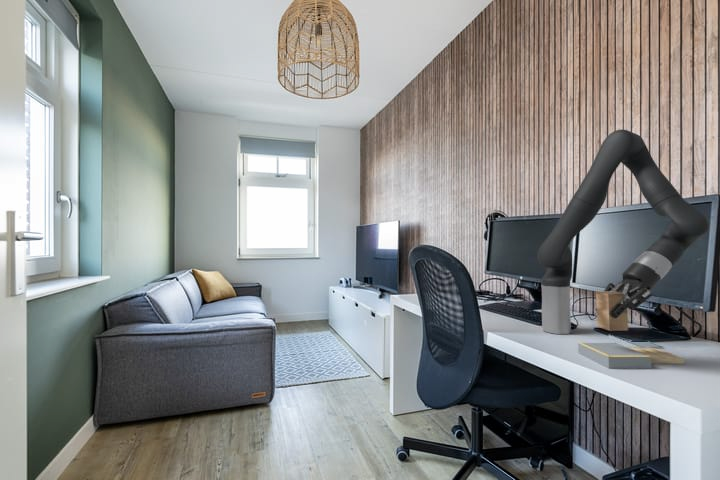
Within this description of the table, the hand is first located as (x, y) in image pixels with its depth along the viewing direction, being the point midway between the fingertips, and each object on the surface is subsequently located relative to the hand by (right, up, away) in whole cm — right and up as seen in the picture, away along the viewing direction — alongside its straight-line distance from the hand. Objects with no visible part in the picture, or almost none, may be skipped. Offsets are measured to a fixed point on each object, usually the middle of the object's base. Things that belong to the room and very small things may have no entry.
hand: (605, 313), depth 96 cm
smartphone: (+22, -14, +17) cm, 31 cm away
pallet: (+14, -13, +2) cm, 19 cm away
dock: (+2, -13, 0) cm, 13 cm away
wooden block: (+2, -4, 0) cm, 4 cm away
